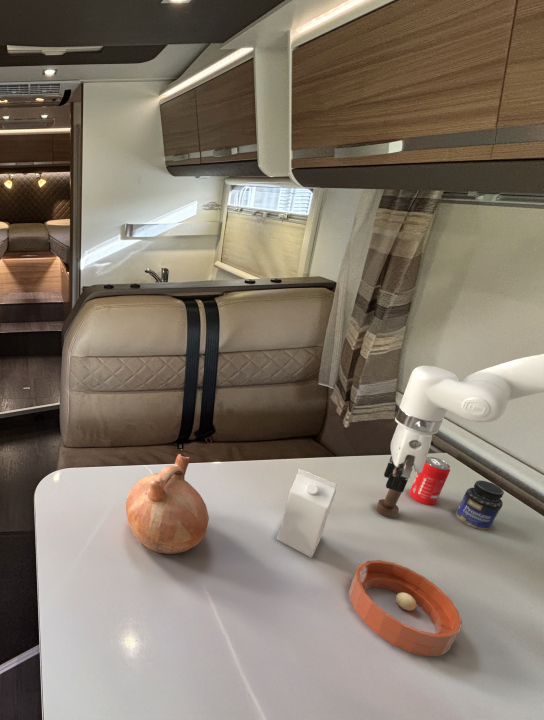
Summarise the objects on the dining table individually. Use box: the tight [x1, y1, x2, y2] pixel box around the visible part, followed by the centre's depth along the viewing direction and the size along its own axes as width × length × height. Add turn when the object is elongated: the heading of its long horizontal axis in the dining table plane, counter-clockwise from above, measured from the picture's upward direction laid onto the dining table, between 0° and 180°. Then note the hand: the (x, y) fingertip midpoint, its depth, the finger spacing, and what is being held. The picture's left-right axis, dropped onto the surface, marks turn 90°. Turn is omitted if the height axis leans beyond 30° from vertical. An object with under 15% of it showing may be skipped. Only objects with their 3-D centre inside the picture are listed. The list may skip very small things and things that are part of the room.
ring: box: [348, 559, 463, 658], centre depth 81 cm, size 15×15×6 cm
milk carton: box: [276, 468, 338, 558], centre depth 95 cm, size 7×7×19 cm
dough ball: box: [395, 592, 417, 611], centre depth 83 cm, size 3×3×3 cm
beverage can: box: [409, 456, 451, 506], centre depth 108 cm, size 5×5×12 cm
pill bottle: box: [455, 479, 505, 531], centre depth 101 cm, size 6×6×11 cm
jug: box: [125, 453, 210, 555], centre depth 97 cm, size 18×18×20 cm
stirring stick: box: [375, 464, 413, 519], centre depth 103 cm, size 4×4×15 cm
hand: (393, 483), depth 102 cm, fingers open, 3 cm apart
